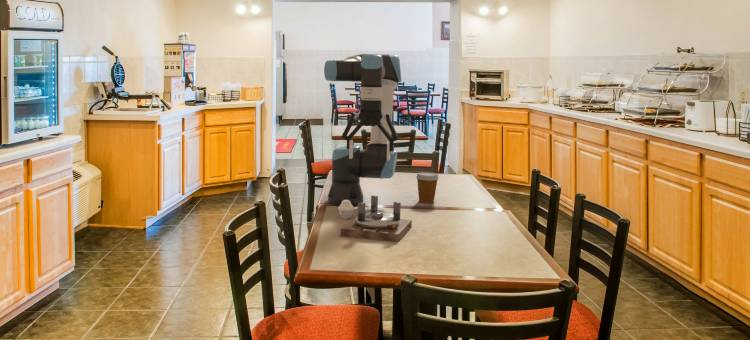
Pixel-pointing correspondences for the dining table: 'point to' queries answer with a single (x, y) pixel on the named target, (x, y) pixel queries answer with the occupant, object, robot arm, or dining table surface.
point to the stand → (376, 231)
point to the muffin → (346, 209)
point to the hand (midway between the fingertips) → (369, 159)
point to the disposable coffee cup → (427, 186)
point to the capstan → (377, 216)
